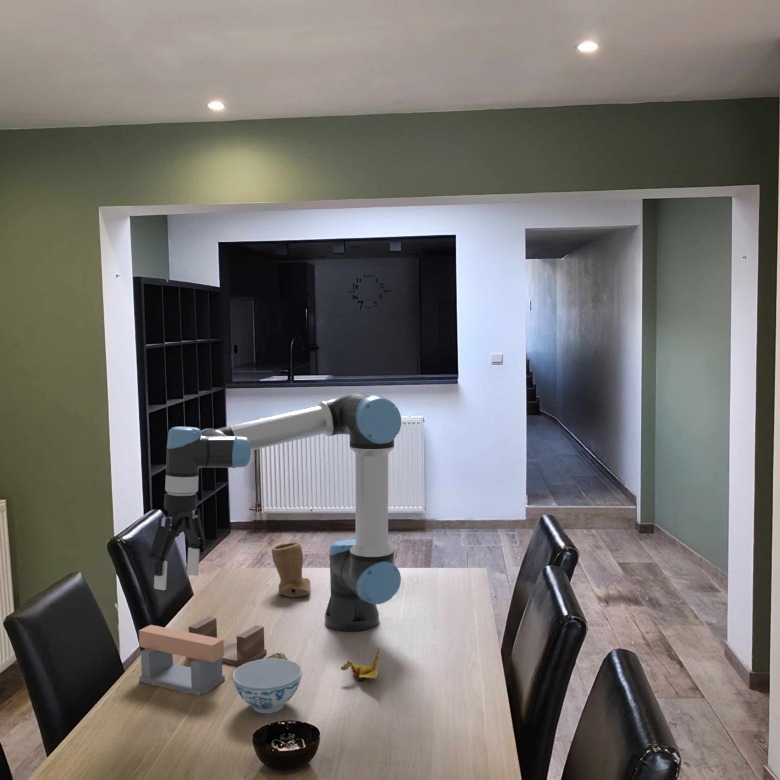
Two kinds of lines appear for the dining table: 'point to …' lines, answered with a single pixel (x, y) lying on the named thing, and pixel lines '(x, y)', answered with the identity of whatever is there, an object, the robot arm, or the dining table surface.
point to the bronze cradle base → (235, 653)
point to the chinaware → (267, 683)
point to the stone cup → (290, 569)
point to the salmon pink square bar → (181, 643)
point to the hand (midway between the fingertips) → (176, 581)
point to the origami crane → (364, 668)
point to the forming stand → (179, 672)
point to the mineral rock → (278, 656)
